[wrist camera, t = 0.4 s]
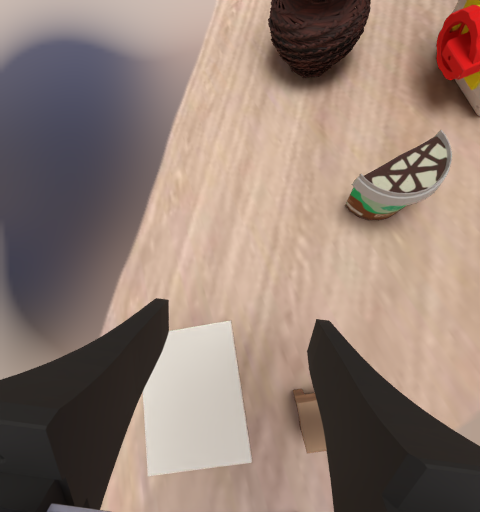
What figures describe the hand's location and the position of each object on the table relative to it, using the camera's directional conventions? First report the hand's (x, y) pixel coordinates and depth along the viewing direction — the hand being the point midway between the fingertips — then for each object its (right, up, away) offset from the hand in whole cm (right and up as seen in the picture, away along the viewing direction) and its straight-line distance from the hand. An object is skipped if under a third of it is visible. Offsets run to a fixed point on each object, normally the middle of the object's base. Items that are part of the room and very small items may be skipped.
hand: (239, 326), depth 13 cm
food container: (+22, +11, +28) cm, 37 cm away
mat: (-7, -16, +24) cm, 30 cm away
